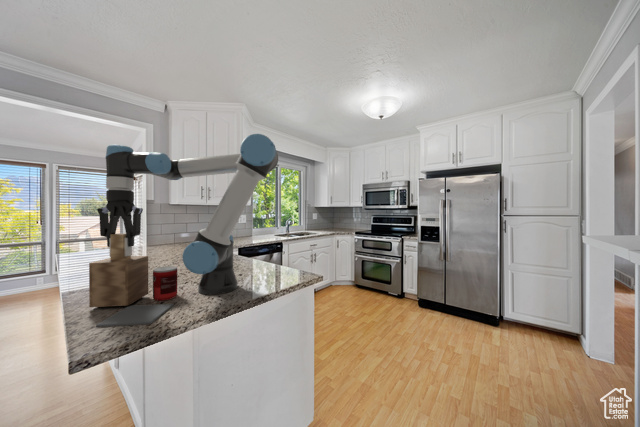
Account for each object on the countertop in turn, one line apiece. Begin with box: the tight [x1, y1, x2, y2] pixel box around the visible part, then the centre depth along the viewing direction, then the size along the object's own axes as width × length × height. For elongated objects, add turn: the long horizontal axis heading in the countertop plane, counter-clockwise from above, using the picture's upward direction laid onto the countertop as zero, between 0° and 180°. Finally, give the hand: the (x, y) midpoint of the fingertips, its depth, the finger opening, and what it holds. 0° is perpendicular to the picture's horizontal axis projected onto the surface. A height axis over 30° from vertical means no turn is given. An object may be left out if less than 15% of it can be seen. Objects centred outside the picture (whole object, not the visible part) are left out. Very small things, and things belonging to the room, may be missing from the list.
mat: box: [95, 303, 175, 328], centre depth 75 cm, size 14×14×1 cm
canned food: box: [152, 265, 178, 302], centre depth 90 cm, size 8×8×11 cm
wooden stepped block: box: [88, 232, 149, 308], centre depth 85 cm, size 12×12×24 cm
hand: (120, 255), depth 85 cm, fingers closed on wooden stepped block, 4 cm apart
